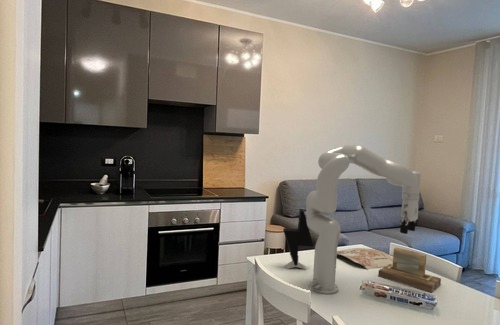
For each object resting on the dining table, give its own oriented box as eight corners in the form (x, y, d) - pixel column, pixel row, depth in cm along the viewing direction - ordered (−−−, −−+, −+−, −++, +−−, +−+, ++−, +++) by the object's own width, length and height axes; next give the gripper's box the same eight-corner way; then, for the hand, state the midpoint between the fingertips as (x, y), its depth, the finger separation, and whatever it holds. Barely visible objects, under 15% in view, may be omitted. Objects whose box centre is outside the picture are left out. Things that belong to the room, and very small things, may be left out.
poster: (359, 277, 171) (404, 270, 182) (360, 265, 170) (405, 259, 181) (328, 255, 197) (368, 250, 208) (328, 245, 196) (369, 241, 207)
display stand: (431, 292, 148) (431, 284, 148) (378, 276, 165) (378, 268, 164) (440, 284, 158) (441, 276, 158) (389, 269, 174) (390, 262, 174)
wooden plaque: (422, 279, 155) (424, 256, 155) (392, 270, 165) (393, 248, 164) (424, 277, 158) (426, 254, 157) (394, 268, 167) (396, 247, 167)
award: (309, 266, 174) (313, 209, 173) (312, 269, 169) (315, 211, 167) (281, 265, 174) (284, 208, 172) (282, 268, 168) (285, 210, 167)
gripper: (412, 199, 151) (409, 236, 152) (424, 196, 163) (421, 231, 164) (395, 196, 156) (392, 232, 157) (408, 194, 168) (406, 227, 169)
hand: (407, 231), depth 160 cm, fingers open, 9 cm apart
